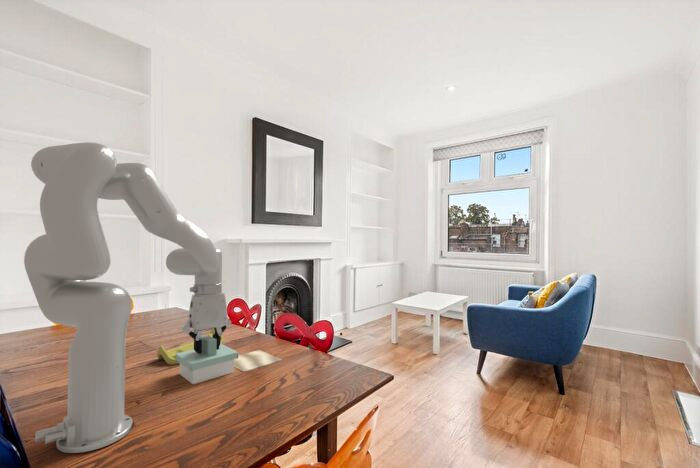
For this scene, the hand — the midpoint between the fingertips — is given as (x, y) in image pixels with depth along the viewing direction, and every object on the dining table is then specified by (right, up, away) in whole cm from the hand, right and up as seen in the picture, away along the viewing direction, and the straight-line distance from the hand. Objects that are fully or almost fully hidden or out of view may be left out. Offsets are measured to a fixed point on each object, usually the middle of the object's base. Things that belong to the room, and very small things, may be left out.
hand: (207, 349), depth 101 cm
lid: (0, -3, 0) cm, 3 cm away
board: (+10, -8, +11) cm, 17 cm away
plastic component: (-12, -8, +16) cm, 21 cm away
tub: (0, -8, 0) cm, 8 cm away
